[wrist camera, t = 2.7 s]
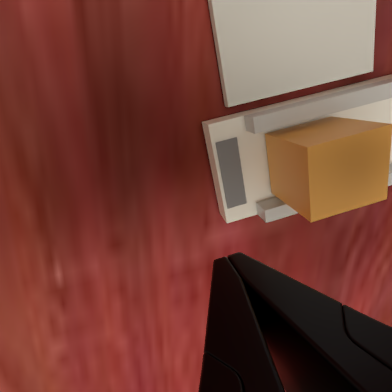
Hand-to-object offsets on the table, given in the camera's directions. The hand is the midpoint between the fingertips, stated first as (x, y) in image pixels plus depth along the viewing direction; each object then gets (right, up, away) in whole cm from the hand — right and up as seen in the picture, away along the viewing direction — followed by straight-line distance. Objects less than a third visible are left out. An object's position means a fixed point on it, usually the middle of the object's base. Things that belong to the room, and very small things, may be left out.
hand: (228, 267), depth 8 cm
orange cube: (+5, +4, +8) cm, 10 cm away
